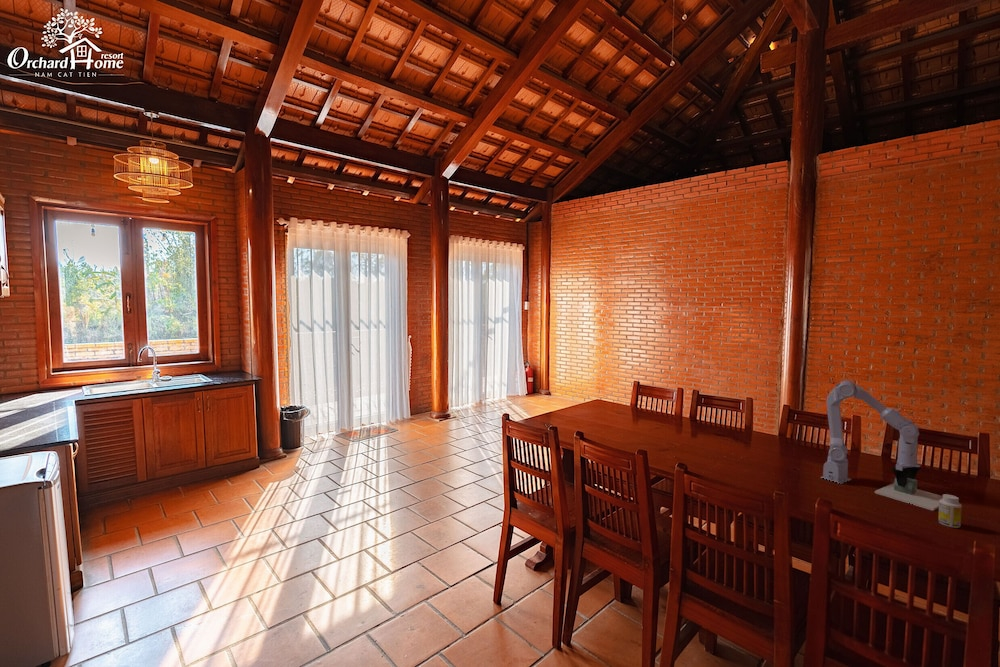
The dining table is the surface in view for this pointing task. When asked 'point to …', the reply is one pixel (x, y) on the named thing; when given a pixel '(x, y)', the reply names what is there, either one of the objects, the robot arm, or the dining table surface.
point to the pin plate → (912, 497)
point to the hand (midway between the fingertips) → (905, 484)
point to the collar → (907, 486)
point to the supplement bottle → (950, 511)
